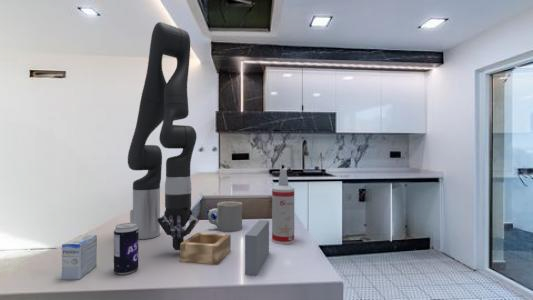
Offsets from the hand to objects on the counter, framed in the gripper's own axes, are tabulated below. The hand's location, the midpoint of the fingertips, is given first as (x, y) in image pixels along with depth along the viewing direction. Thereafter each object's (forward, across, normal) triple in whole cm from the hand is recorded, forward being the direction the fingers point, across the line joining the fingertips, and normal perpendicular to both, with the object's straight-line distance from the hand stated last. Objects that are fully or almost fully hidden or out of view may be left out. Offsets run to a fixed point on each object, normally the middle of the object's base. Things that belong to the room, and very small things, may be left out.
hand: (178, 249), depth 85 cm
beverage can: (+2, -7, -14) cm, 16 cm away
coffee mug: (+2, +4, +30) cm, 30 cm away
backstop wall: (+2, +25, -2) cm, 25 cm away
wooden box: (+1, +9, 0) cm, 9 cm away
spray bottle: (+2, +29, +19) cm, 35 cm away
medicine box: (+2, -18, -17) cm, 25 cm away
